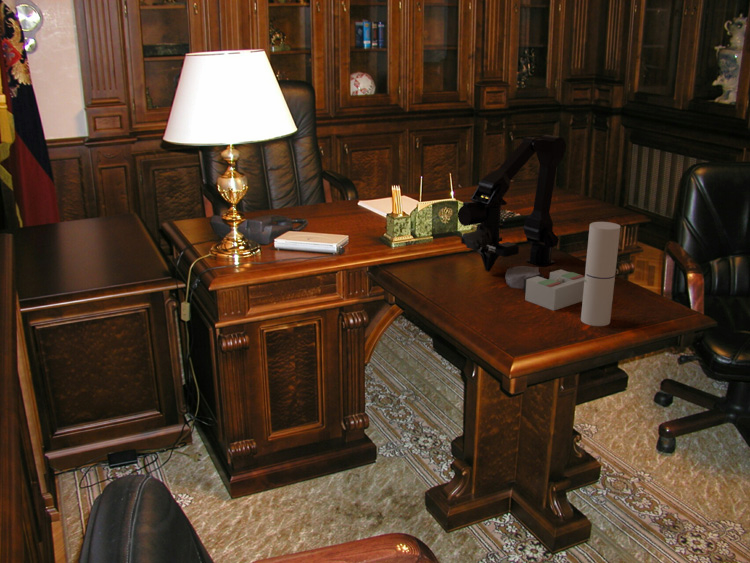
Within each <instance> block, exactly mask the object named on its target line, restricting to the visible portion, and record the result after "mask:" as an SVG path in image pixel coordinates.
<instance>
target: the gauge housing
mask: <svg viewBox="0 0 750 563" xmlns="http://www.w3.org/2000/svg"><path fill="white" fill-rule="evenodd" d="M559 278H563V283H562V284H561V283H560V282H557V281H554V280H556V279H559ZM584 281H585V275H582V274H579V273H576V272H573V271H566V270H564V269H558V270H554V271H553V270H552V271H551V272H549V277H548V279H547V278H542V277H539V276H536V277H533V278H529V279H527V280H526V293H525V299H524V300H525V301H527V302H529V303H532V304H535V305H538V306H540V307H543V308H545V309H547V310H550V311H553V312H554V311H557V310H559V309H563V308H566V307H569V306H571V305H575V304H578V303H581V302H583V291H584Z"/></svg>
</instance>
